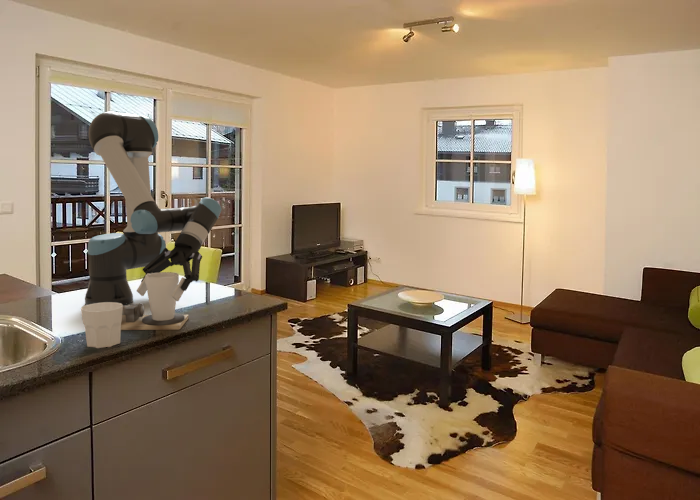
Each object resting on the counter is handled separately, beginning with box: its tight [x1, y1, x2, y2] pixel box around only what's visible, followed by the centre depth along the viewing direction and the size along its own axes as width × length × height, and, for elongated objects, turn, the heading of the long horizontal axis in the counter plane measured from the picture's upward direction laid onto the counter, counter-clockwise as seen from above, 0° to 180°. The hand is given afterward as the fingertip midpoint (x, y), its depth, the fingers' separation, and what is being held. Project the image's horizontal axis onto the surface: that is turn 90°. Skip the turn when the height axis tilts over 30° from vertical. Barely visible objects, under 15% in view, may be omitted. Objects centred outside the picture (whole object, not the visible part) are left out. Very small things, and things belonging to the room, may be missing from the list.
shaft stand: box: [121, 303, 189, 331], centre depth 163 cm, size 22×12×6 cm, turn 95°
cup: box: [80, 302, 124, 349], centre depth 144 cm, size 10×10×10 cm
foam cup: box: [144, 271, 180, 321], centre depth 162 cm, size 10×9×13 cm
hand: (156, 296), depth 160 cm, fingers open, 13 cm apart
